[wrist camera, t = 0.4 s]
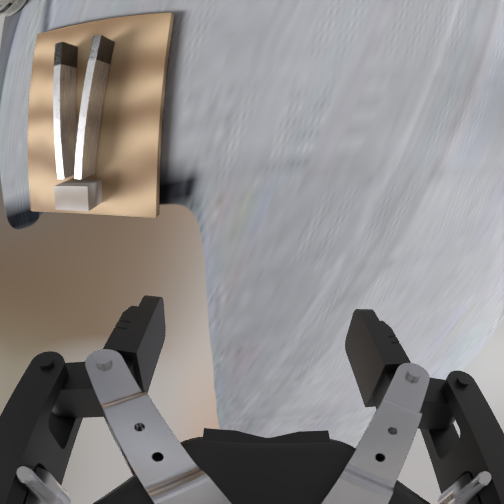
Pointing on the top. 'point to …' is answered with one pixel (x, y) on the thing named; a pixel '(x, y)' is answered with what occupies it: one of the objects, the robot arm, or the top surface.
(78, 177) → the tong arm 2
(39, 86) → the board
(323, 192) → the top surface
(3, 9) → the spray can
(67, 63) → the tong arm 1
